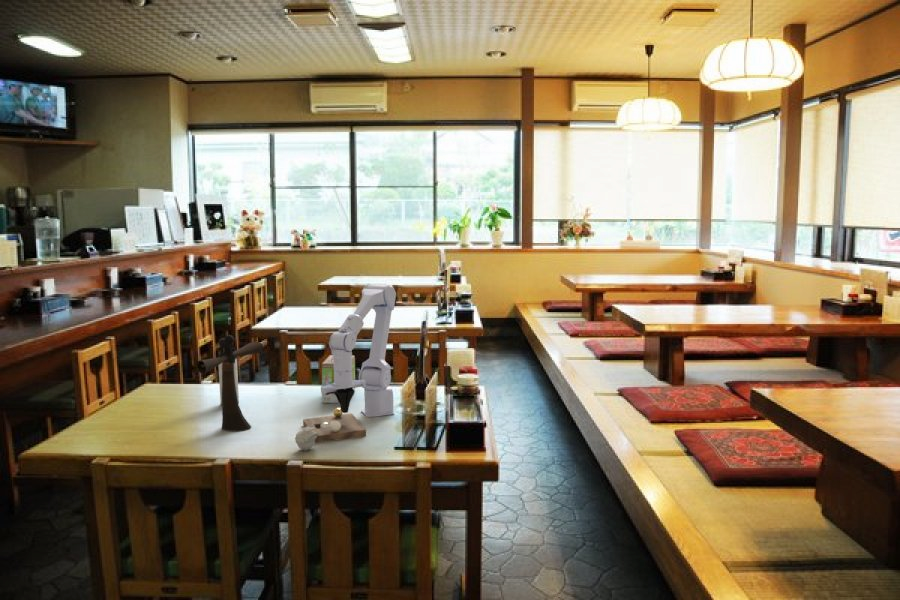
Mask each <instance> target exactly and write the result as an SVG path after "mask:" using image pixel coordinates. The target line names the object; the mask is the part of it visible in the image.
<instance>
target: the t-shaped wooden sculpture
mask: <svg viewBox="0 0 900 600" xmlns="http://www.w3.org/2000/svg"><path fill="white" fill-rule="evenodd" d="M234 342H235V338H234V336H233V335H231V334H227V335H226V336H225V337H222V338H220V339H219V340H218V345H219V347H220V351H221V352H220V355H221V357H218V356H217V357H214V358H213V357H211V358H207V359H201V360H198V361H197V363H196V366H197V367H196V368H197V370H198V372H199V373H200V374H201V375H205V374H207V373H208V372H210V371H211V370H213V369H215V368H216V367H217V366H218V367H219V364H221V363H222V406H221V415H222V416H221V417H222V421H221V422H222V423H221V429H222V430H224V431H230V432H240V431H247V430H250V429H251V428H252V426H251V424H250V423H249V422H248V420H247V419H246V418H245V416H244V415H243V412H242V409H241V407H240V405H239V404H240V403H239V404H238V399H237V393H236V387H235V377H234V364H233V363H235V357H244V356H249V355H257V354H260V353H261V352H263V350H264V345H263V343H261V342H260V341H259V342H258V341H252V342H249V343H247V344H245V345H243V346H242V347H240V348H238V349H236V351H235V352H233V351H232V348H233V346H234ZM222 352H223V353H224V355H223V356H222V354H223V353H222Z"/></svg>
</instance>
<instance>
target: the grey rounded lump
mask: <svg viewBox="0 0 900 600" xmlns="http://www.w3.org/2000/svg"><path fill="white" fill-rule="evenodd" d="M317 436H318V434H317V432H316V431H315V429H314V427H311V428H310V427H303V428H302V429H300V430H299V431H297V433H296V434H295V437H294V439H295V443H296V445H297V447H298V449H299V450H301V451H305V452H306V451H310V450H311V449H313V447H314V445H315V444H316V443H315V439H316V438H317Z"/></svg>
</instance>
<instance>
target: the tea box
mask: <svg viewBox="0 0 900 600" xmlns="http://www.w3.org/2000/svg"><path fill="white" fill-rule="evenodd" d="M352 374H353V380H356V357H355V355H353V354H352ZM333 383H334V358H333V355H332V354H329V355H328V357H327V358H325V360H323V362H322V363H321V387H322V386H326V385H329V384H333ZM353 390H354V394H355V392H356V388H353ZM321 401H322V402H321V403H322V404H325V403H326V404H339V401H338V399H337V397H336V395H335V394H334V392H328V393H326V394H323V393H321Z"/></svg>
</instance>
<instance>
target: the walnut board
mask: <svg viewBox="0 0 900 600" xmlns="http://www.w3.org/2000/svg"><path fill="white" fill-rule="evenodd" d="M335 420H336V421H339V422H340V424H341V428H340V430H339V431H337V432H333V431H332V430H331V429H330V427H327V428H320V425H321V424H322V423H323V422H327V423H329V424H330V423H331V422H332V421H335ZM302 425H303V428H305V427H310V428H311V427H314V429H315V431H316V432H317V434H318V436H317V438H316V439H315V443H314V444H316V443H317V444H318V443H325V442H331V441H340V440H345V439H352V438H353V439H354V438H360V437H361V438H362V437H366V436H367V429H366V428H365V427H364V426H363V425H362V423H361V422H360V421H359V419H357V417H356V416H355V415H354V414H353V413H351V412H350V413H342V415H341V416H340V417H336V416H334V414H333V415H327V416H317V417H310V418H303V419H302Z"/></svg>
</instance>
